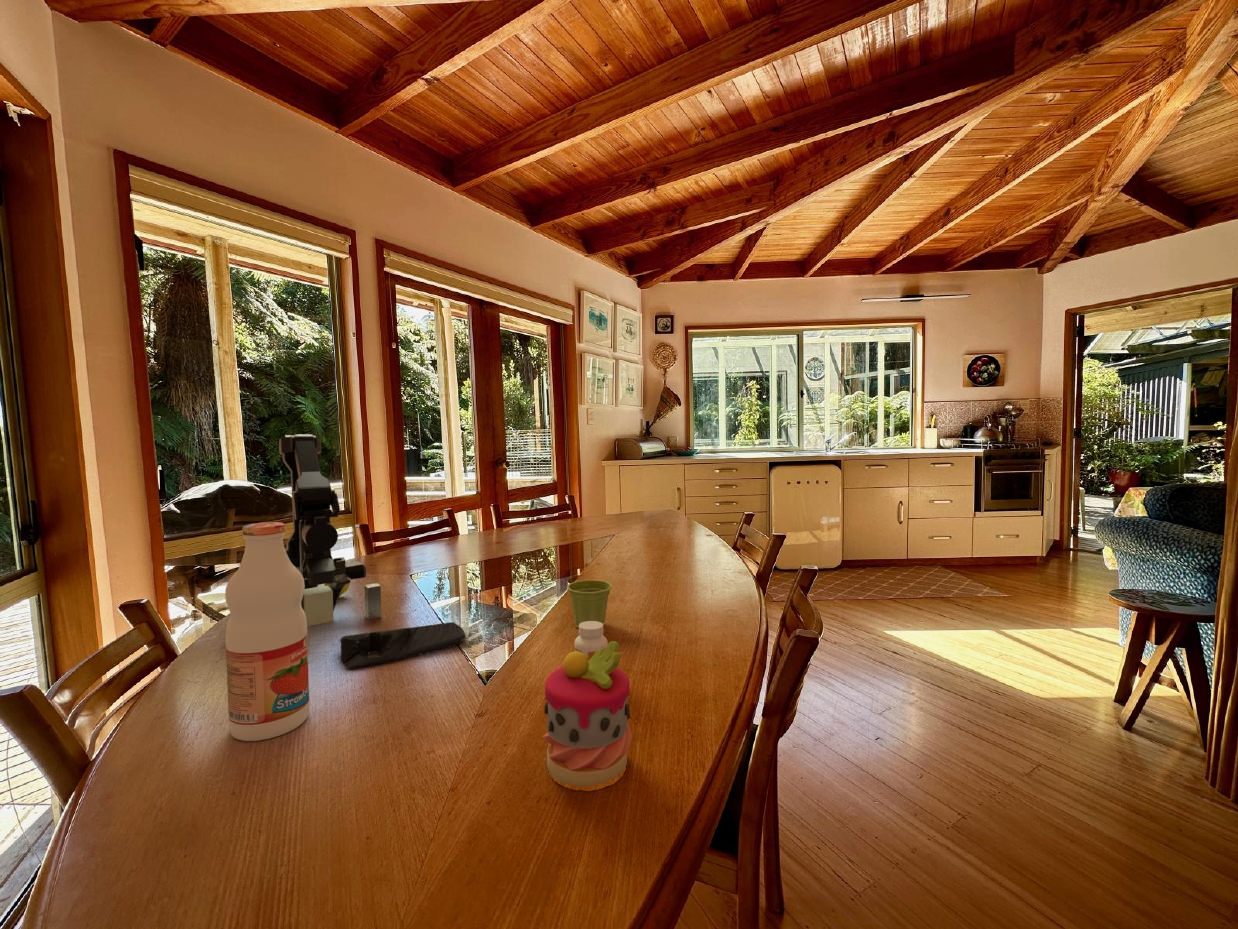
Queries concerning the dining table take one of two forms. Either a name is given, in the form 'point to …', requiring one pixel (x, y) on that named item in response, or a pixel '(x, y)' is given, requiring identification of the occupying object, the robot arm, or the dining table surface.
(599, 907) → the dining table surface
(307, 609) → the cream rectangular block
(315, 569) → the robot arm
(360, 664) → the dark slate chunk
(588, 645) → the supplement bottle
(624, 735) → the cake
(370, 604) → the post
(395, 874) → the dining table surface
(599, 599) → the plant pot
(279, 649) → the fruit juice
